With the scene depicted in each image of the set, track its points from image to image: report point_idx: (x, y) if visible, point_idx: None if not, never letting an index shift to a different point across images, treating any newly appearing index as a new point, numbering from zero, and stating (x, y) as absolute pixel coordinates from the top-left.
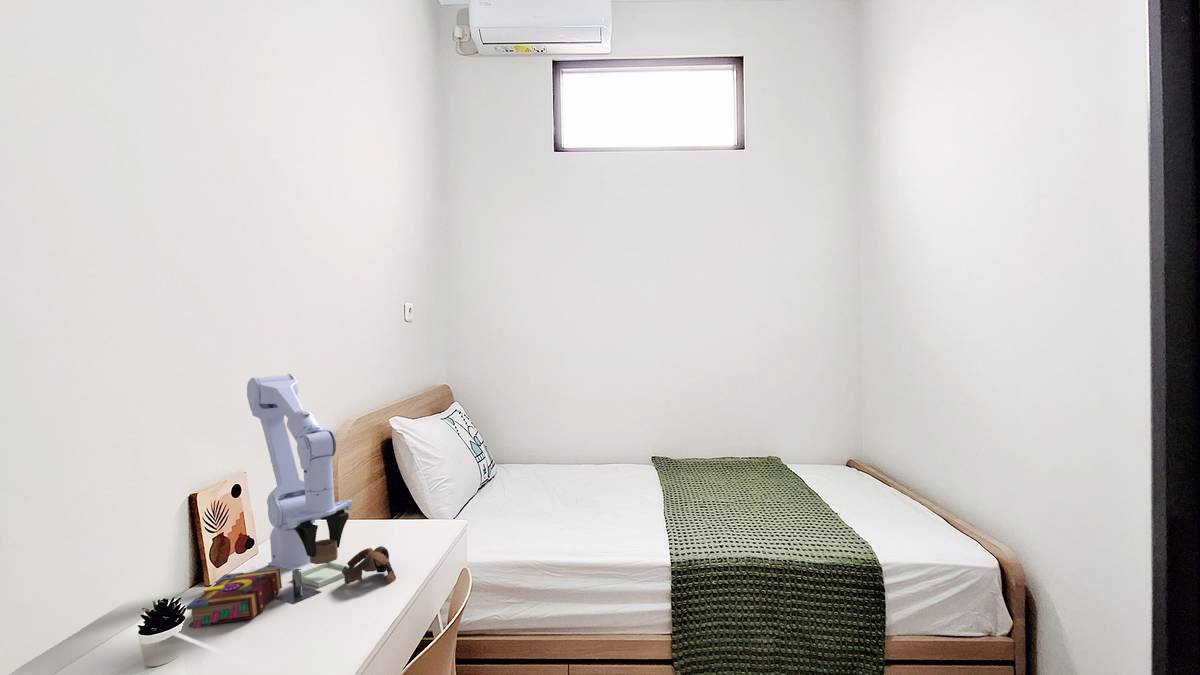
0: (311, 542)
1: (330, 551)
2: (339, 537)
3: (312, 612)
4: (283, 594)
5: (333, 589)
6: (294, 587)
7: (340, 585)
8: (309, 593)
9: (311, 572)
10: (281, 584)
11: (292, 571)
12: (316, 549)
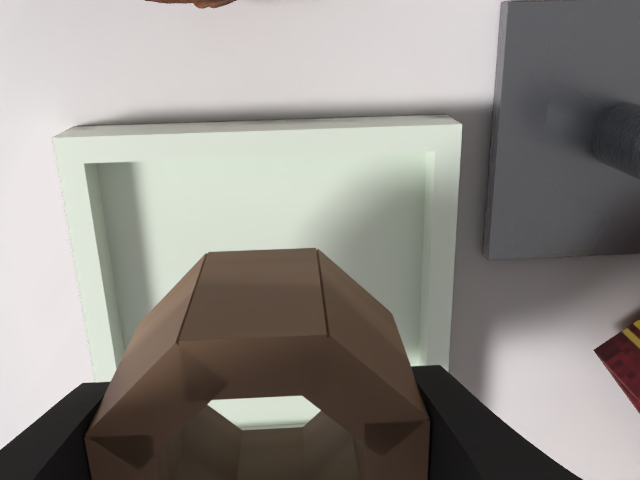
0: (550, 460)
1: (270, 295)
2: (34, 444)
3: None
4: None
5: (388, 12)
6: None
7: (303, 35)
8: (571, 77)
9: (293, 427)
10: (605, 360)
11: None
12: (419, 397)
